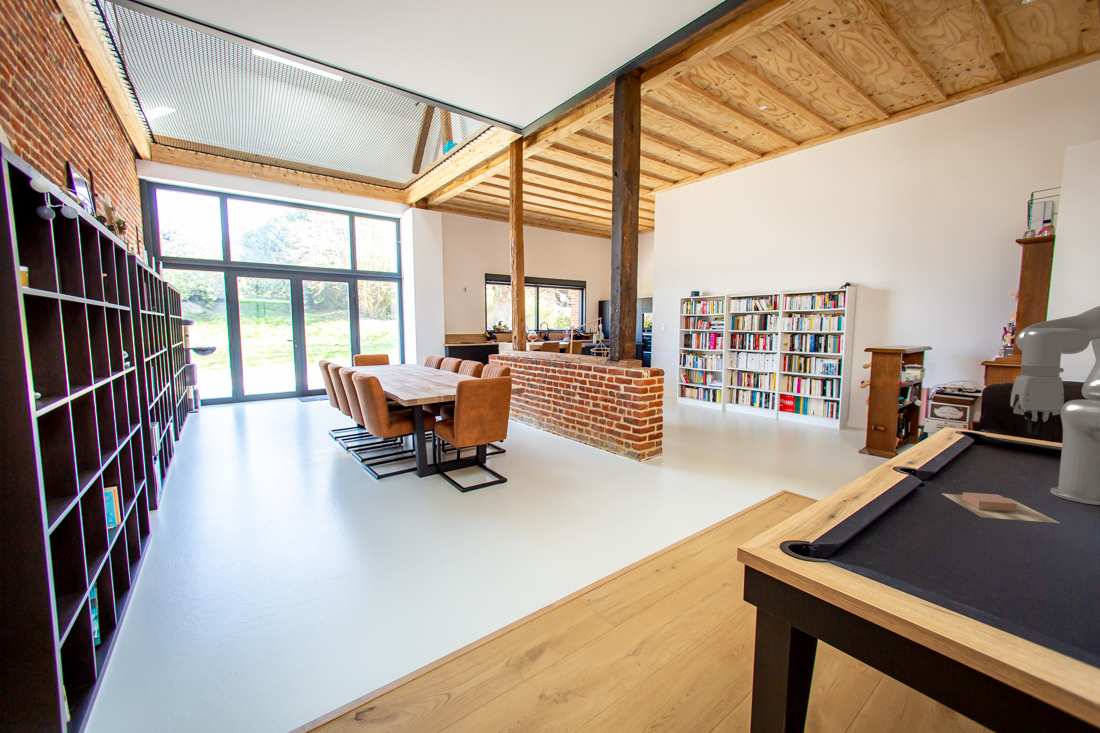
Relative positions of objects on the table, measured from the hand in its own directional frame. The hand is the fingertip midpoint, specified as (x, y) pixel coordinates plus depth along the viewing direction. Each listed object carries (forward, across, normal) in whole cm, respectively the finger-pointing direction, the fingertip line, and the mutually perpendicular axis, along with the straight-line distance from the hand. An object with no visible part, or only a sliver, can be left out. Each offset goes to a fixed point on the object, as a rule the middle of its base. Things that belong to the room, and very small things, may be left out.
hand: (1034, 433), depth 128 cm
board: (+23, +10, +2) cm, 25 cm away
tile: (+21, +7, +2) cm, 22 cm away
